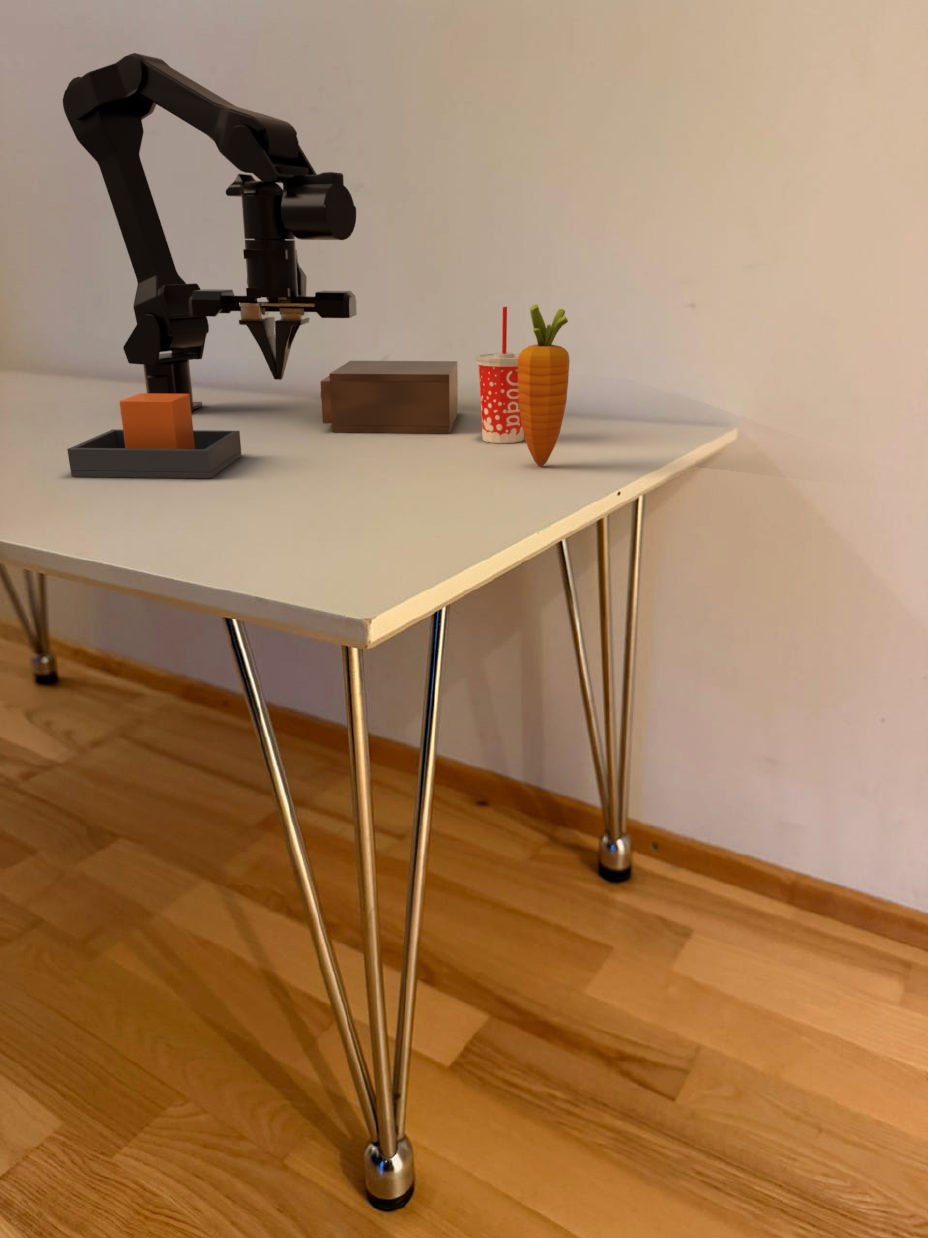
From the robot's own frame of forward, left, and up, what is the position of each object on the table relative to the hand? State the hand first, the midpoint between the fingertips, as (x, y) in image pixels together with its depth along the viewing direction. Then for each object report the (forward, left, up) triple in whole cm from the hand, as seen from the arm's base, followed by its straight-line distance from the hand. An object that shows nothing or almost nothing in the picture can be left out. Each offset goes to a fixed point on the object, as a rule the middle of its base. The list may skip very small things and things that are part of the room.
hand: (278, 379), depth 115 cm
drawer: (0, +12, -4) cm, 13 cm away
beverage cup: (+10, +27, -5) cm, 30 cm away
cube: (+26, -5, -5) cm, 27 cm away
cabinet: (0, +14, -5) cm, 15 cm away
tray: (+26, -6, -5) cm, 27 cm away
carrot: (+24, +31, -5) cm, 40 cm away
